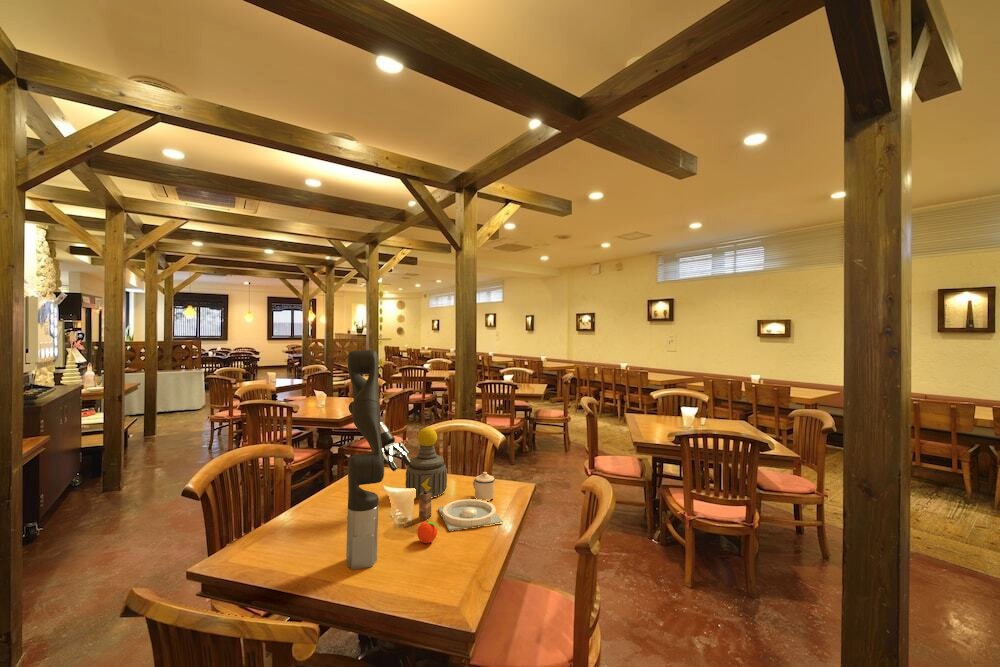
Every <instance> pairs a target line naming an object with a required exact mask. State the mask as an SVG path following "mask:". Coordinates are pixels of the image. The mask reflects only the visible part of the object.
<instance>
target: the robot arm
mask: <svg viewBox="0 0 1000 667" xmlns="http://www.w3.org/2000/svg"><path fill="white" fill-rule="evenodd" d="M347 355H348V356H347V371H348V376H349V379H350V380H349V381H350V383H351V386H352V399H353V400H352V401H351V402H350V403H349V404H348V411H349V413H350V414H351V415H352V422H353V424H354V426H355V427H356V429H357V430H358V431H359V432H360V433H361V435H362V436H363V437H364V439H365V440H366V442H367V443H368V445H369V447H370V450H371V453H363V454H353V455H351V456H350V457H349V459H348V462H347V483H348V484H347V486H348V490H347V492H348V494H347V495H348V496H347V519H346V520H347V521H346V546H345V548H346V551H345V552H346V554H345V555H346V560H345V561H346V562H345V565H346V566H347V567H348V568H349V569H350V571H351V570H359V569H365V568H372V567H373V566H374V564H376V562H377V560H378V533H379V530H378V528H379V521H378V520H379V496H378V494H377V493H376V492H373V491H371V490H370V491H369V490H365V489H363V488H361V487H360V486H363V485H372V484H373V485H374V484H379V483H381V482H382V481H383V479H384V476H385V465H386V464H387V465H388V467H389V468H390V470H392V472H395V471H396V470H398V467H397V465H396V463H395V462H394V461H393V457H397V458H401V459H402V461H403V462H404V464H405V466H406V467H408V465H409V464H410V463H411V462H410V458H409V457H408V454H409V453H410V452H409V450H408V449H407V448H406V446H405V445H404V443H403V442H402V441H399V443H396V441H395V440H396V438H395V436H394V435H393V433H392V432H391V431H390V429H389V428H388V426H387V425H386V424H385V423H384V422H383V420H382V419H381V404H380V403H381V402H380V394H379V392H380V391H379V356H378V353H377V351H376V350H374V349H359V350H358V349H357V350H350V351H349V352H348V354H347ZM363 375H368V377H367V379H366V378H365V377H363Z"/></svg>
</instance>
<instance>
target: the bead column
mask: <svg viewBox="0 0 1000 667" xmlns="http://www.w3.org/2000/svg"><path fill="white" fill-rule="evenodd" d="M431 497H432V493H429V492H427V491H426V490H425V491H424V492H423V493H421V494H419V499H418V500H419V502H418V504H419V505H418V519H419V520H421V519H423V520H422V521H425V520H426V521H428V520H429V519H431V518H432V499H431ZM430 517H431V518H430ZM427 519H428V520H427Z"/></svg>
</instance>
